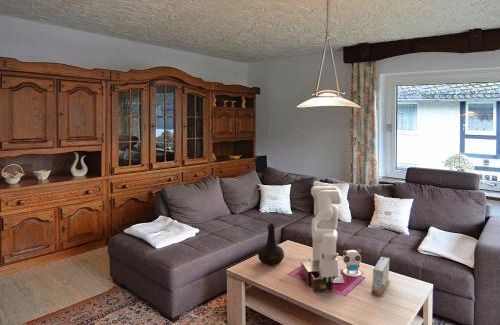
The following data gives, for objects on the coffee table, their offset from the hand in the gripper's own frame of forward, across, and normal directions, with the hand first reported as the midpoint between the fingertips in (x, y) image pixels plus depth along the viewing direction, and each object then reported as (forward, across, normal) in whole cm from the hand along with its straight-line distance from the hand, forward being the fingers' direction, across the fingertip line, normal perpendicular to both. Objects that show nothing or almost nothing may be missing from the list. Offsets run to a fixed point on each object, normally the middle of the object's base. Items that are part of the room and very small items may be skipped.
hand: (328, 287), depth 192 cm
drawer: (+7, 0, -13) cm, 14 cm away
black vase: (+7, +21, -54) cm, 58 cm away
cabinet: (+7, 0, -24) cm, 25 cm away
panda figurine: (+8, -27, -30) cm, 41 cm away
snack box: (+8, -35, -8) cm, 37 cm away
